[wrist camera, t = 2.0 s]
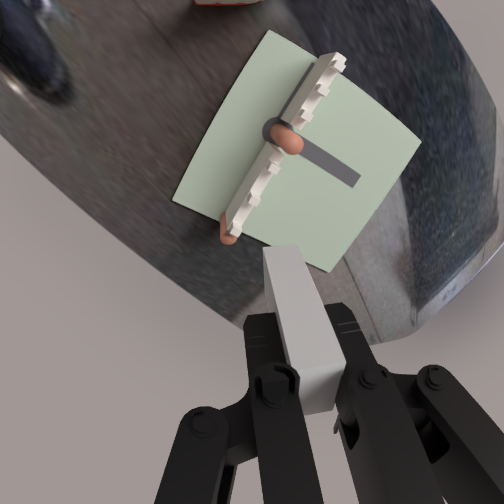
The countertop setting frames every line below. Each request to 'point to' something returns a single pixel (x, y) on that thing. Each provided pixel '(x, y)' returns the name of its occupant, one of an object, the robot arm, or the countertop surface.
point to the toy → (225, 2)
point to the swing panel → (249, 192)
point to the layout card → (299, 157)
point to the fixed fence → (307, 101)
